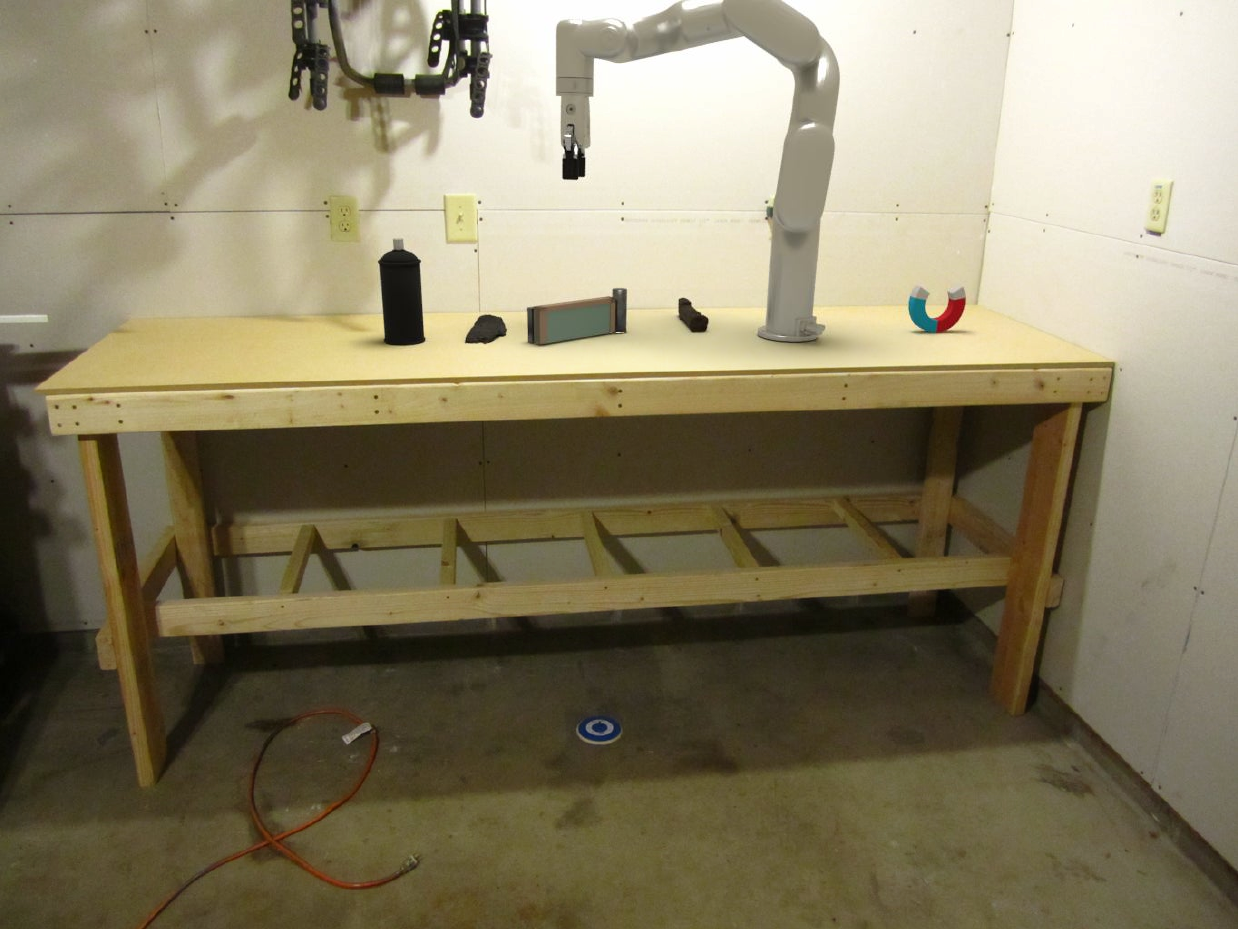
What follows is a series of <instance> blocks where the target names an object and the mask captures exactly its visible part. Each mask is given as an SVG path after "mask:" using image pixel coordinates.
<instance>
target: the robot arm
mask: <svg viewBox="0 0 1238 929" xmlns="http://www.w3.org/2000/svg"><path fill="white" fill-rule="evenodd" d="M742 37H743V38H746V39H747V40H748V41H750V42H751V43H753V44H754V45H756V46H757V47H759V48H760V49H762V50H763V51H764V52H766V53H767V54H769V55H771V56H772V57H773V58H775V59H776V60H777V61H778V62H779V64H780V65H781V66H783V67H784V68H786V69H788V70H790V72H791V73H792V75H793V79H794V80H793V81H794V88H793V90H794V91H793V96H792V106H791V112H790V117H789V123H788V127H787V133H786V135H785V137H784V140H783V145H782V146H783V147H782V155H781V159H780V160H781V161H780V167H779V173H778V179H777V186H776V190H775V195H774V198H773V204H772V205H773V206H772V226H771V240H770V258H769V270H768V283H767V298H766V310H765V312H766V314H765V325H763V326H760V327H758V328H757V335H758V336H759V337H761V338H764V339H766V340H771V341H779V342H789V343H790V342H793V343H794V342H795V343H796V342H797V343H798V342H799V343H800V342H810V341H814V340H816V339H818V338H819V336H821V335H822V334H823V332H825V330H826V325H825V324H822V323H817V318H818V317H817V316H815V315H813V314H814V303H815V291H816V281H817V279H816V278H817V268H818V258H819V247H820V246H819V245H820V234H821V232H820V230H821V222H822V221H821V218H822V216H823V214H824V211H825V206H826V202H827V198H828V197H827V196H828V191H829V190H828V189H829V185H830V179H831V175H832V170H833V169H832V168H833V163H834V159H835V158H834V157H835V151H836V150H835V148H836V143H835V138H834V134H833V133H834V126H835V121H836V115H837V106H838V100H839V93H840V86H841V85H840V84H841V82H840V81H841V79H840V78H841V75H840V67H839V63H838V62H839V61H838V60H837V57H836V53H835V52H834V50H833V48H832V46H831V45H830V44H829V43H828V41H827V40H826V39H825V38H824V37H823V36H822V35H821V34H820V31H819V28H818V27H817V25H816V24H815V22H813V21H812V20H811V19H810V18H809V17H807V16H806V15H804V14H803V13H801V12H799V11H798V10H797V9H795V8H794V7H792V6H791V5H790V4H788V3H786V2H785V1H783V0H679V1H676V2H675V3H673V4H672V5H670V6H669V7H668V8H666V9H664V10H663V11H660V12H658V13H655V14H652V15H647V16H645V17H640V18H636V19H632V20H631V19H630V20H626V21H622V20H620V19H618V18H613V17H611V18H607V17H606V18H602V19H601V18H600V19H595V20H594V19H593V20H584V19H573V18H572V19H563V20H560V21H558V23H557V24H556V28H555V97H561V99H560V145H561V147H562V148H563V151H562V160H561V163H562V165H561V166H562V171H561V176H562V177H561V178H562V180H565V181H566V180H567V181H568V180H569V181H577V180H579V178H585V176H586V158H587V157H586V150H585V149H589V147H591V110H590V107H591V106H590V105H591V104H590V97H591V98H593V97H594V94H595V93H594V89H595V88H594V87H595V86H594V85H595V84H594V82H595V80H594V79H595V74H594V73H595V59H599V60H602V61H603V60H604V61H606V62H611V63H614V64H623V63H625V64H626V63H629V62H634V61H638V60H643V59H648V58H652V57H656V56H661V55H665V54H668V53H672V52H673V53H674V52H680V51H681V52H683V51H684V50H688V49H693V48H697V47H701V46H705V45H710V44H714V43H718V42H719V43H720V42H724V41H730V40H734V39H739V38H742Z"/></svg>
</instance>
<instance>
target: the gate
mask: <svg viewBox="0 0 1238 929" xmlns="http://www.w3.org/2000/svg"><path fill="white" fill-rule="evenodd" d="M533 307H534V336H535V343H534V344H538V345H544V344H549V343H554V342H561V341H567V340H568V341H569V340H573V339H579V338H585V337H592V336H597V335H599V336H600V335H602V334H603V335H604V334H612V333H613V332H615V297H612V296H609V295H608V296H602V297H594V298H585V299H579V300H570V301H565V302H556V303H549V304H541V305H534V306H533Z"/></svg>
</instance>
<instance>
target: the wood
mask: <svg viewBox="0 0 1238 929" xmlns="http://www.w3.org/2000/svg"><path fill="white" fill-rule="evenodd" d="M507 331H508V328H507V327H506V324H505V322H504V320H503V318H502V317H501V316H497V315H493V314H481V315H479V316H478V317H477V320H476V321H475V322H474V324H473V326H472V327H471V328H470V329H469V331H468V332H467V334H466V336H465V341H464V342H465V344H479V343H481V344H484V345H487V344H488V343H492V342H493V341H495V340H496V339H497V337H506V336H507Z"/></svg>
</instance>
